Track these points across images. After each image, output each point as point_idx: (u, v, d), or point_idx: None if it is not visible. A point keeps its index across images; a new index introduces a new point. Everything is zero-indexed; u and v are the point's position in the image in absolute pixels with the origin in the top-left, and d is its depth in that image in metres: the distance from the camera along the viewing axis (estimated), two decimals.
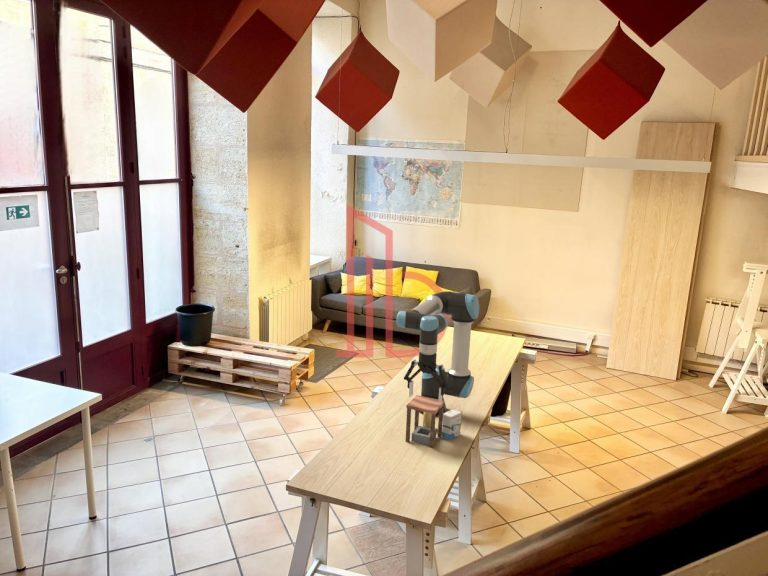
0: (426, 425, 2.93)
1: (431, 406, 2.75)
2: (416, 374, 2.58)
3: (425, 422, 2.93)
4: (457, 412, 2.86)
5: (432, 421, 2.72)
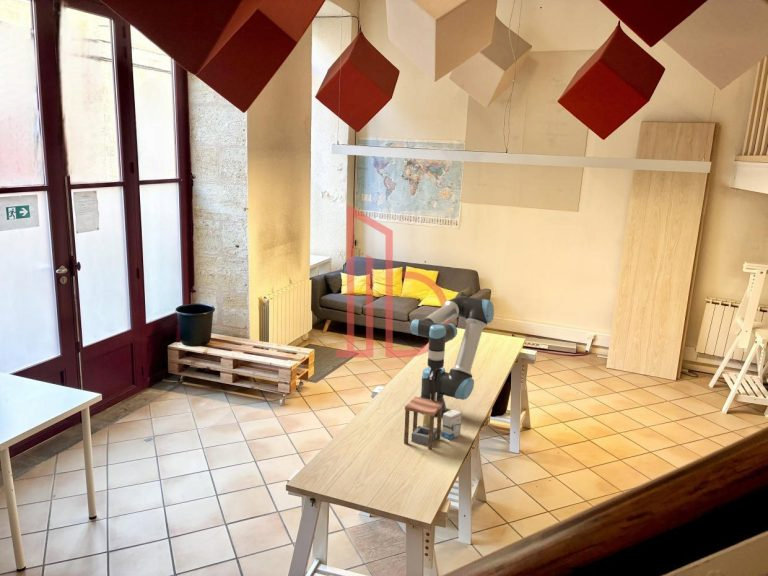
0: (426, 425, 2.93)
1: (430, 407, 2.74)
2: None
3: (425, 422, 2.93)
4: (457, 412, 2.86)
5: (431, 423, 2.70)
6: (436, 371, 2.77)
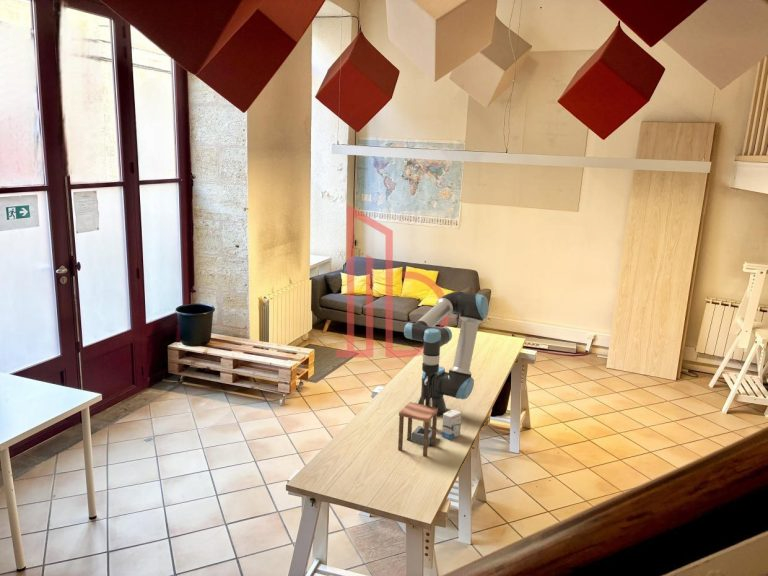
0: None
1: (425, 413, 2.67)
2: None
3: None
4: (457, 412, 2.86)
5: (425, 429, 2.64)
6: (431, 376, 2.71)
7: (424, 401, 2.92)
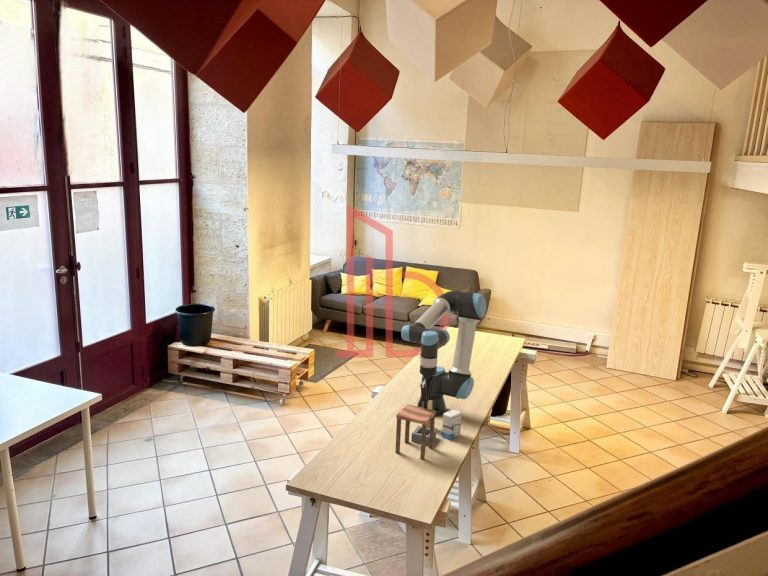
0: None
1: (422, 416, 2.65)
2: None
3: None
4: (457, 412, 2.86)
5: (423, 432, 2.61)
6: (429, 379, 2.68)
7: None
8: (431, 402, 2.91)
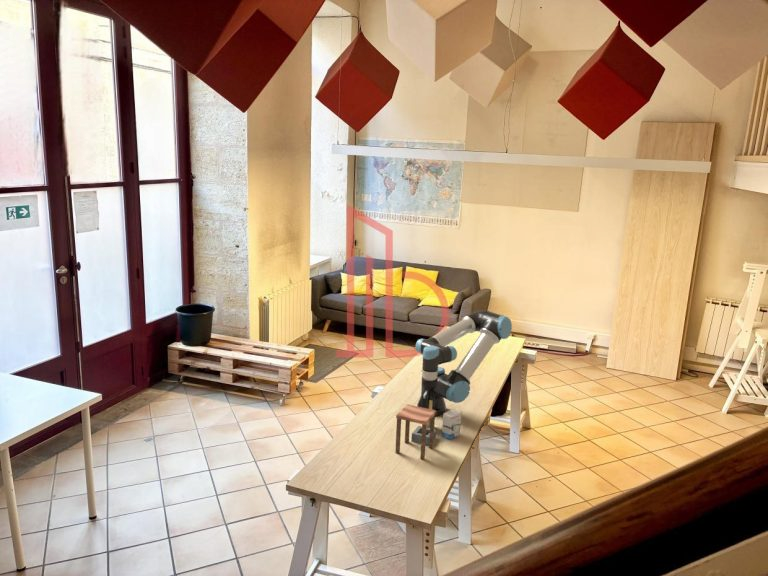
0: None
1: (422, 416, 2.65)
2: None
3: None
4: (457, 412, 2.86)
5: (423, 432, 2.61)
6: (430, 390, 2.89)
7: None
8: (431, 402, 2.91)
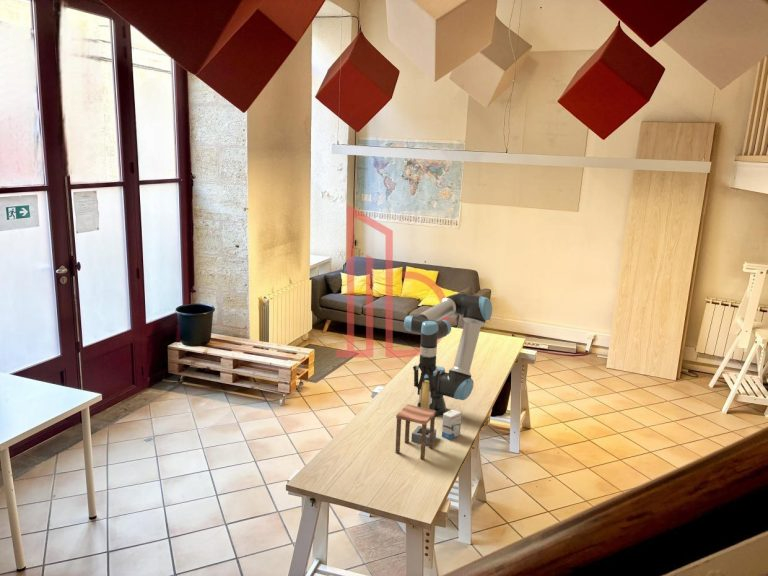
0: None
1: (422, 416, 2.65)
2: (422, 378, 2.76)
3: None
4: (457, 412, 2.86)
5: (423, 432, 2.61)
6: None
7: (428, 383, 2.75)
8: None
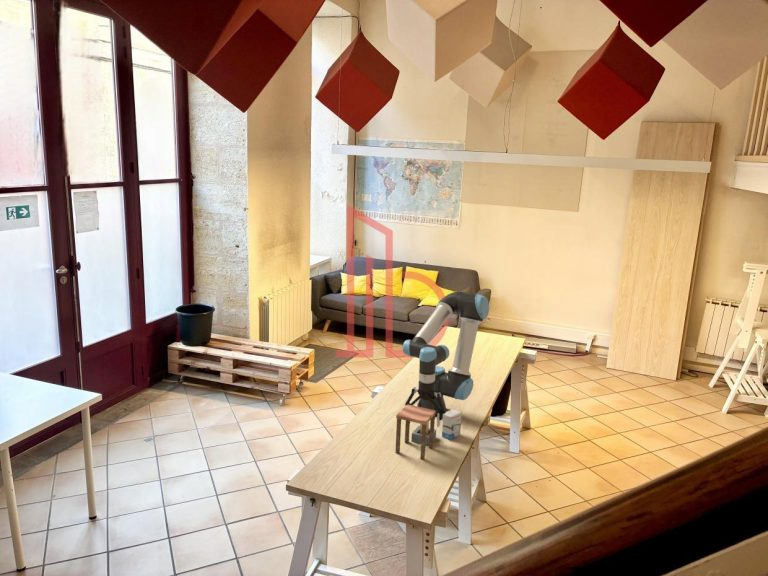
0: None
1: (422, 416, 2.65)
2: (416, 401, 2.79)
3: (427, 433, 2.81)
4: (457, 412, 2.86)
5: (423, 432, 2.61)
6: None
7: None
8: None
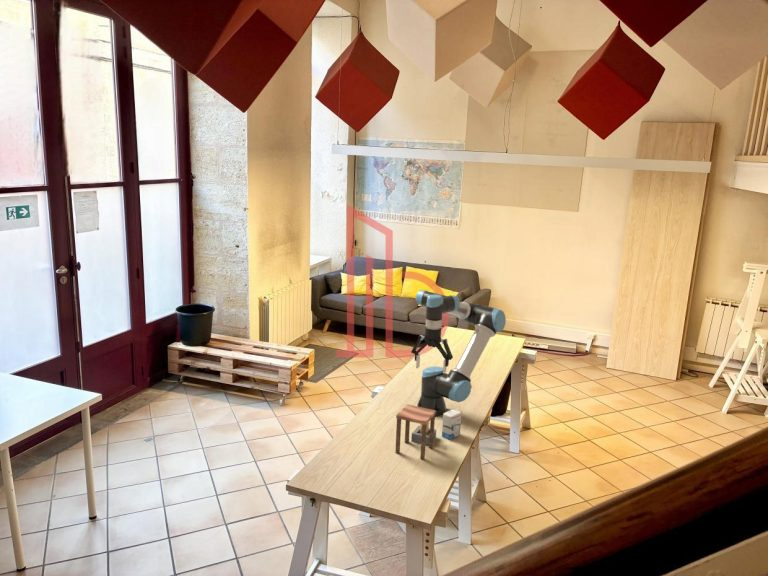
0: None
1: (422, 416, 2.65)
2: (422, 348, 2.85)
3: (427, 433, 2.81)
4: (457, 412, 2.86)
5: (423, 432, 2.61)
6: None
7: None
8: None
